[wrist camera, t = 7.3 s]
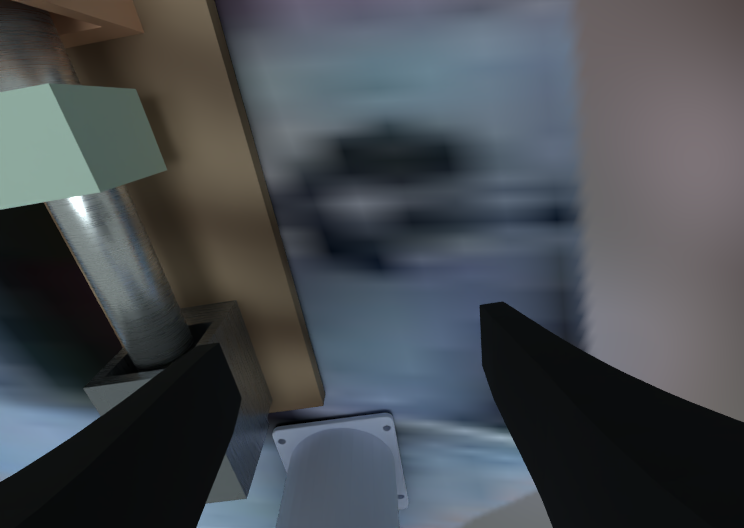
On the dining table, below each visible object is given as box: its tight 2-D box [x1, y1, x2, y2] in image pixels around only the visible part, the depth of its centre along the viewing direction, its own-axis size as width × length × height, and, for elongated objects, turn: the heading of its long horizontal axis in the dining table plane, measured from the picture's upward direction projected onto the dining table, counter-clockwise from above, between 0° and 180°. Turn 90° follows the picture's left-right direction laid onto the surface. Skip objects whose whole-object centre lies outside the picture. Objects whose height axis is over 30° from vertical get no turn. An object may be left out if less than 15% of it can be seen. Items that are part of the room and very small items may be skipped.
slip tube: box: [0, 0, 196, 373], centre depth 13 cm, size 16×4×4 cm, turn 9°
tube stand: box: [12, 0, 325, 503], centre depth 15 cm, size 24×10×7 cm, turn 9°
